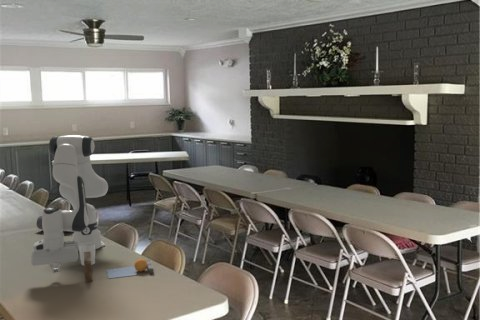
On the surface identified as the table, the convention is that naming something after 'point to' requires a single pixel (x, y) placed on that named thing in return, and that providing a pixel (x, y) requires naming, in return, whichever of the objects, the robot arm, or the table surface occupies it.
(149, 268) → the grey rectangular bar
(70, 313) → the table surface
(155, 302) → the table surface
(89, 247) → the white cup
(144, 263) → the ball
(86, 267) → the bridge
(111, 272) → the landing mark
